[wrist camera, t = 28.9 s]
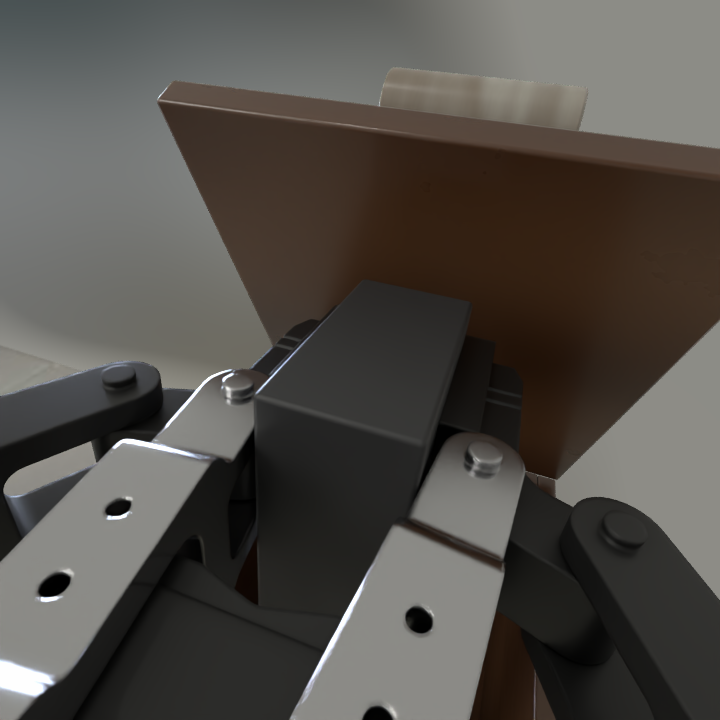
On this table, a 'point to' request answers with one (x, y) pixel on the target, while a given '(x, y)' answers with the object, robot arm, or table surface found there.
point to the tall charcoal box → (349, 440)
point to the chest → (501, 662)
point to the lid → (472, 228)
